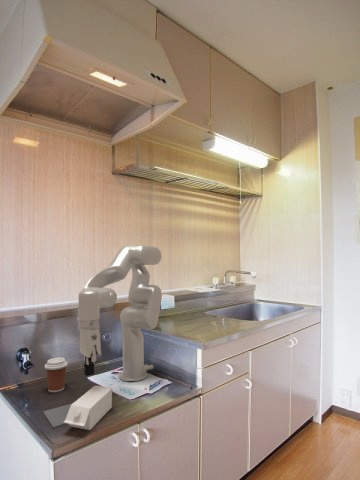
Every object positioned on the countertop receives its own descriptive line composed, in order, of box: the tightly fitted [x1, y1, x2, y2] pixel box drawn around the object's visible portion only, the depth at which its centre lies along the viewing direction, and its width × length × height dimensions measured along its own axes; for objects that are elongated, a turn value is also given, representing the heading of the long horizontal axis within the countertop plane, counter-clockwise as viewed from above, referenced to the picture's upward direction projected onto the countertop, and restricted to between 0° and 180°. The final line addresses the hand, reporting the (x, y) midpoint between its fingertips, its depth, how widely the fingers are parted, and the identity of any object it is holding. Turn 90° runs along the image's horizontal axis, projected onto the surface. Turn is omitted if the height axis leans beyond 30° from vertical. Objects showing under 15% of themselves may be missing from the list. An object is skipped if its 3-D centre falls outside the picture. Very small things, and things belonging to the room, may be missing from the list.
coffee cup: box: [44, 357, 69, 393], centre depth 137 cm, size 9×9×12 cm
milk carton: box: [63, 385, 113, 431], centre depth 111 cm, size 7×7×19 cm
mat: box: [42, 402, 74, 429], centre depth 116 cm, size 17×13×1 cm
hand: (89, 374), depth 120 cm, fingers closed
